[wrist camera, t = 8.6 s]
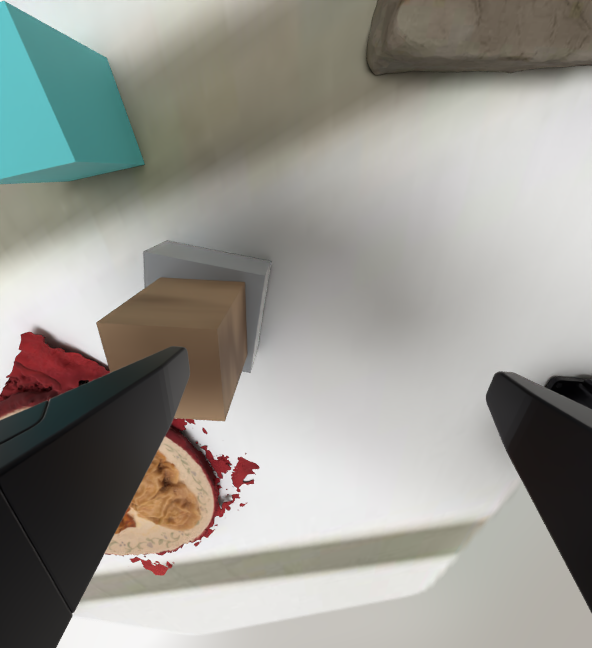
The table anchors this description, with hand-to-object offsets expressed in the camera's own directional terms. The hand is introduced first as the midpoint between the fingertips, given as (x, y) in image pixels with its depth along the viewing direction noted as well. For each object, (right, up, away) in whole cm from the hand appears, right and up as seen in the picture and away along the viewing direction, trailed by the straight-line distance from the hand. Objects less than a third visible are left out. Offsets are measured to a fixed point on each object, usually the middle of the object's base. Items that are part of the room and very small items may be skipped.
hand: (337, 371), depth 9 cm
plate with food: (-20, -14, +23) cm, 34 cm away
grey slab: (-7, +3, +13) cm, 15 cm away
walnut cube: (-7, +2, +10) cm, 12 cm away
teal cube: (-13, +13, +8) cm, 20 cm away
